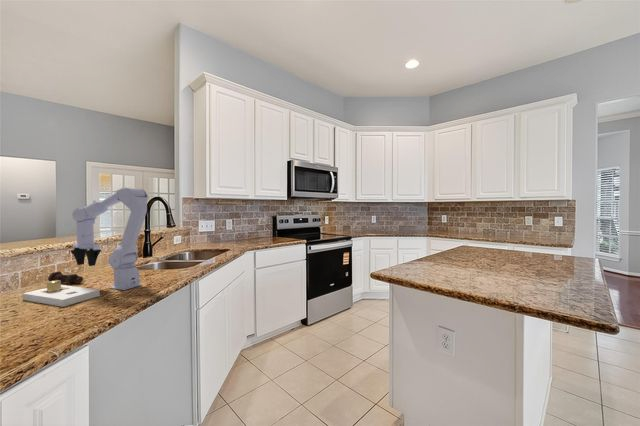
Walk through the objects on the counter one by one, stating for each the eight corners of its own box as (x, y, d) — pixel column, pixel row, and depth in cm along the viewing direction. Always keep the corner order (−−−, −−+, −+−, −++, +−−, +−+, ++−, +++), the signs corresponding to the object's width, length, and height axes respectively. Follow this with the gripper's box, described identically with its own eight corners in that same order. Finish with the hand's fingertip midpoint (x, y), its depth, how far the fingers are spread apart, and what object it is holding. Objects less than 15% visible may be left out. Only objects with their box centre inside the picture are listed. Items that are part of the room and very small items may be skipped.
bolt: (78, 288, 125) (52, 285, 128) (88, 280, 129) (63, 278, 132) (71, 279, 122) (45, 276, 125) (81, 271, 126) (56, 269, 129)
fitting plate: (99, 295, 108) (99, 289, 107) (62, 306, 96) (62, 299, 96) (61, 290, 115) (60, 284, 115) (22, 299, 104) (22, 292, 104)
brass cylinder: (63, 295, 109) (63, 280, 109) (51, 298, 105) (50, 283, 105) (57, 294, 110) (56, 279, 110) (44, 297, 106) (44, 282, 106)
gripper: (64, 235, 120) (65, 266, 120) (86, 236, 115) (87, 268, 115) (82, 234, 126) (83, 262, 127) (103, 234, 122) (104, 264, 122)
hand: (86, 265), depth 122 cm, fingers open, 7 cm apart
